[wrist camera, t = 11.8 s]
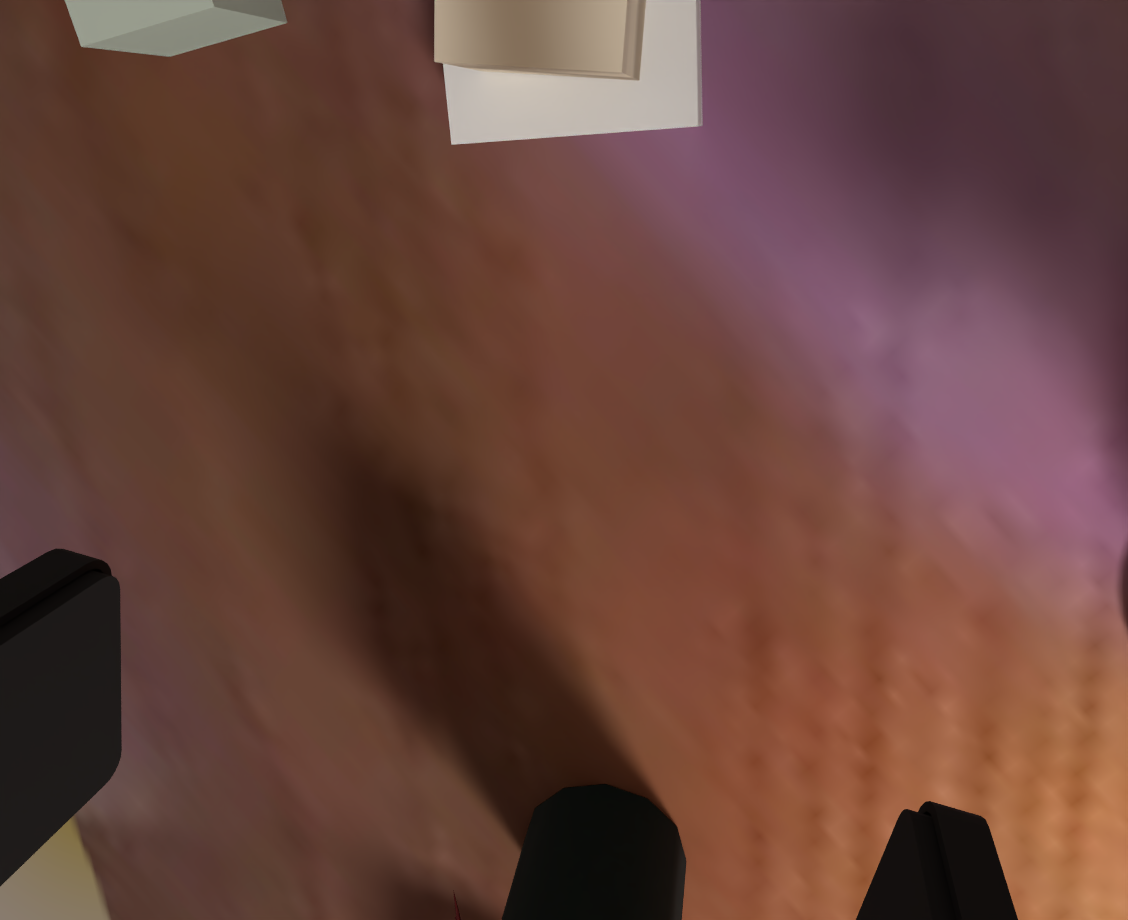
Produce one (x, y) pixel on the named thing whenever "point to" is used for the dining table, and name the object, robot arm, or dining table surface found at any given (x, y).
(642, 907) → the wine bottle
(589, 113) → the base block
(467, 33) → the maple cube
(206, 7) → the sage cube
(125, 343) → the dining table surface
